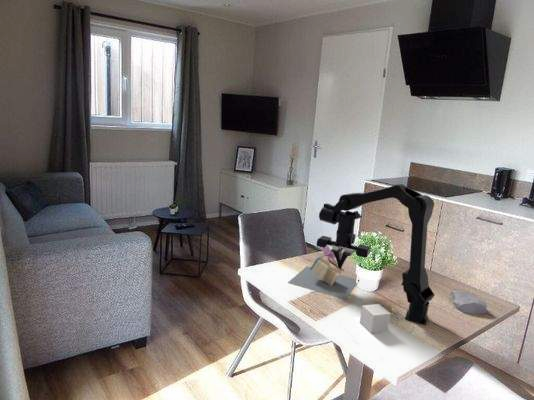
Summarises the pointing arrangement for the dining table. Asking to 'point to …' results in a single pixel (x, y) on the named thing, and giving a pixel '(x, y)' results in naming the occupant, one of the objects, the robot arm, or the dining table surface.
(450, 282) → the dining table surface
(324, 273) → the maple block
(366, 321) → the light grey cube
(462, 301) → the stone block
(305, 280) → the rubber mat
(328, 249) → the lily
